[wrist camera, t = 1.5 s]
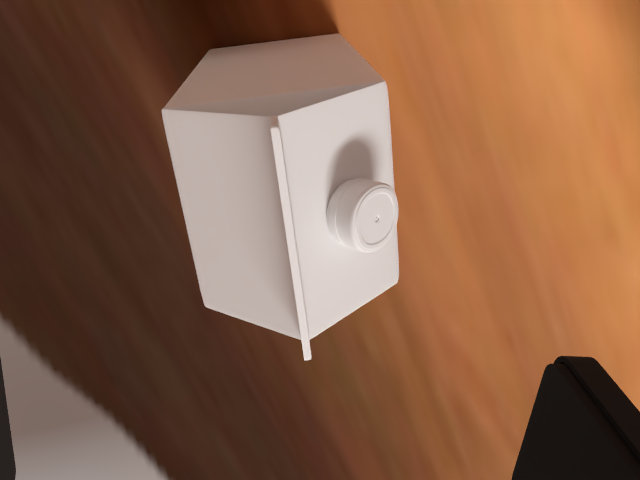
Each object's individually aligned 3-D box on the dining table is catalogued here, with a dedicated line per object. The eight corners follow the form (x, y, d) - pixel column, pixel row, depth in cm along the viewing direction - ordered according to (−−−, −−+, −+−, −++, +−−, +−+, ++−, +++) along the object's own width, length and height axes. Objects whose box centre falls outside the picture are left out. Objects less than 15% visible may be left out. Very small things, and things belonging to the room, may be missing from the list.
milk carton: (231, 174, 35) (189, 376, 18) (208, 48, 32) (131, 144, 15) (352, 159, 35) (426, 345, 18) (340, 32, 32) (416, 108, 15)
